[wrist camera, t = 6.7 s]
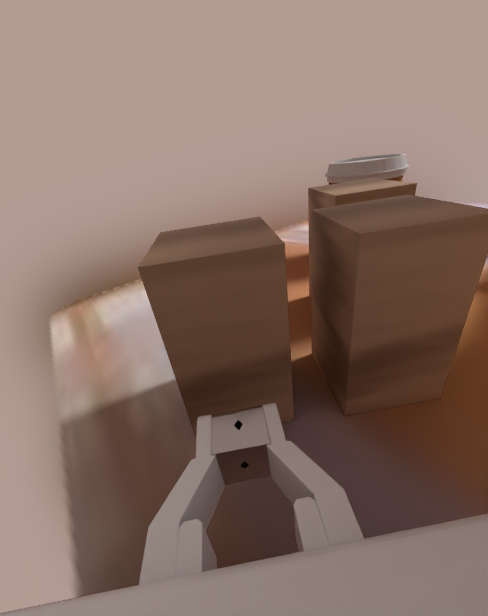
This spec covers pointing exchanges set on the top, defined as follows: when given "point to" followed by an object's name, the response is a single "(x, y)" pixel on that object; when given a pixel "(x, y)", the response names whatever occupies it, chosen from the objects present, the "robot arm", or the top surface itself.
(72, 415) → the top surface
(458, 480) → the top surface
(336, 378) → the walnut block numbered 1
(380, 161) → the disposable coffee cup
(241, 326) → the plain walnut block
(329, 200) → the walnut block numbered 2
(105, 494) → the top surface
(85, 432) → the top surface
